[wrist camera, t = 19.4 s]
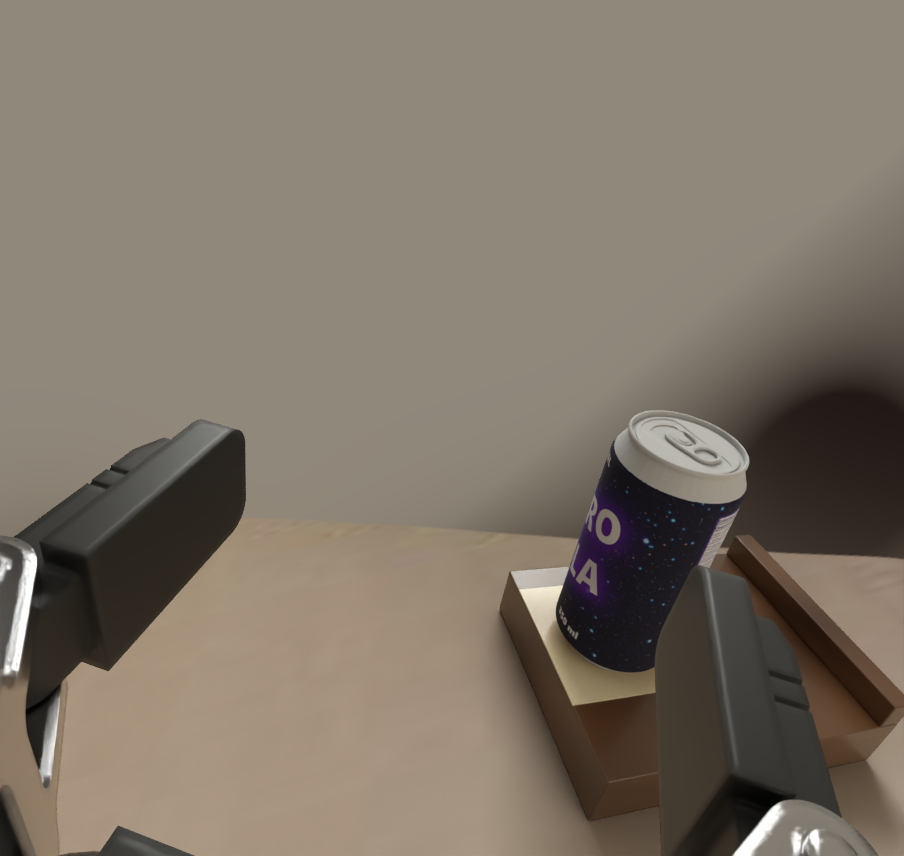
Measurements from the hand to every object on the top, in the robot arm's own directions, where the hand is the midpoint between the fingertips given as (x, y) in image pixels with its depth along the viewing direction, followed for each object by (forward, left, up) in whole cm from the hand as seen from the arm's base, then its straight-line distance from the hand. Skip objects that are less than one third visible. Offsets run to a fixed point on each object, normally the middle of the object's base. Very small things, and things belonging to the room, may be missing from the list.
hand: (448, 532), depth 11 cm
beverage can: (-10, +14, -17) cm, 24 cm away
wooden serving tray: (-9, +18, -20) cm, 29 cm away
